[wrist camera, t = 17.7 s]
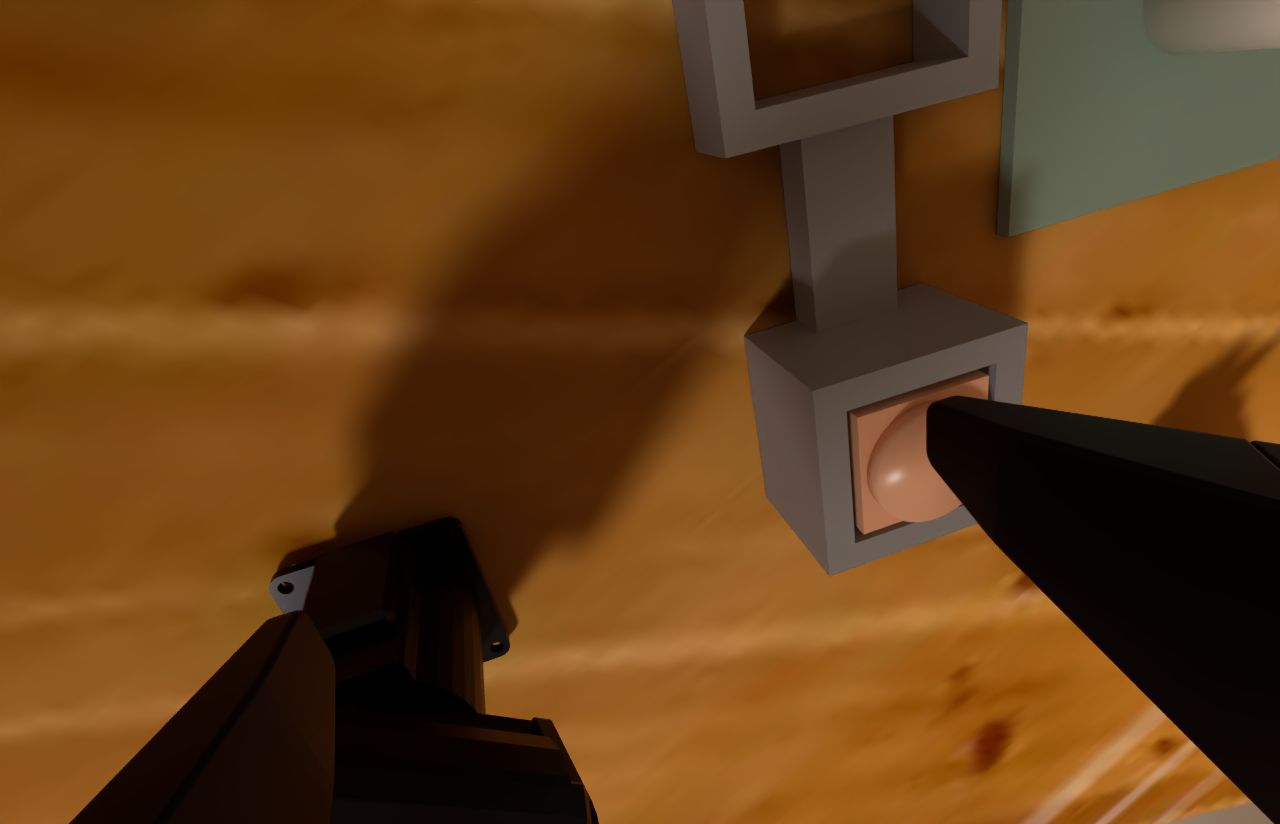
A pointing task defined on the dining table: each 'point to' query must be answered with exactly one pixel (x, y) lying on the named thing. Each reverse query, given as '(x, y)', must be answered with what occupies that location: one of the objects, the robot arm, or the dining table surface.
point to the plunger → (901, 456)
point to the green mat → (1120, 112)
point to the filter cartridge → (1212, 25)
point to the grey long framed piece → (848, 260)
